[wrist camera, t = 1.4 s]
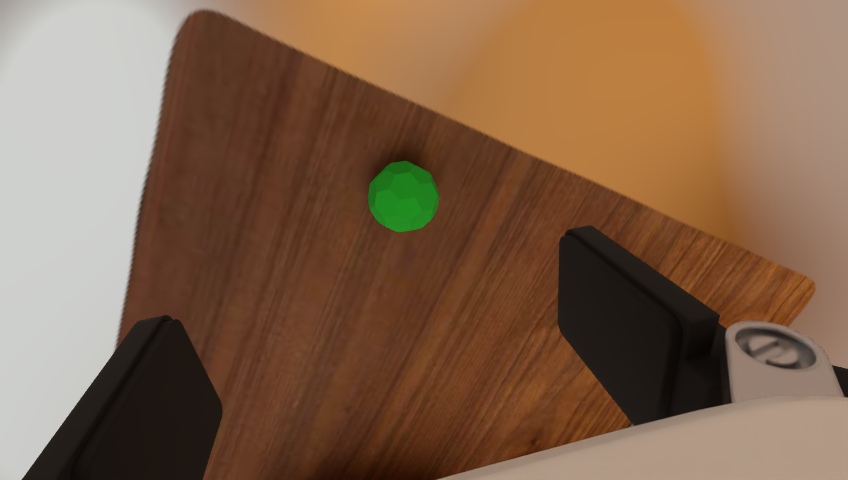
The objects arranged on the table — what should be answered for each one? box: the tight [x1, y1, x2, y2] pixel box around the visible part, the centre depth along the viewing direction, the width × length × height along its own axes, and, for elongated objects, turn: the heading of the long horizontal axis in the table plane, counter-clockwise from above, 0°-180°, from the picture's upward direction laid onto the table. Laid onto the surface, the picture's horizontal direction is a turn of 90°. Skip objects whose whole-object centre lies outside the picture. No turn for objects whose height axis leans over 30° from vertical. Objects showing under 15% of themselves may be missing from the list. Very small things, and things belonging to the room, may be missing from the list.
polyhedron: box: [368, 161, 440, 232], centre depth 29 cm, size 5×5×5 cm
